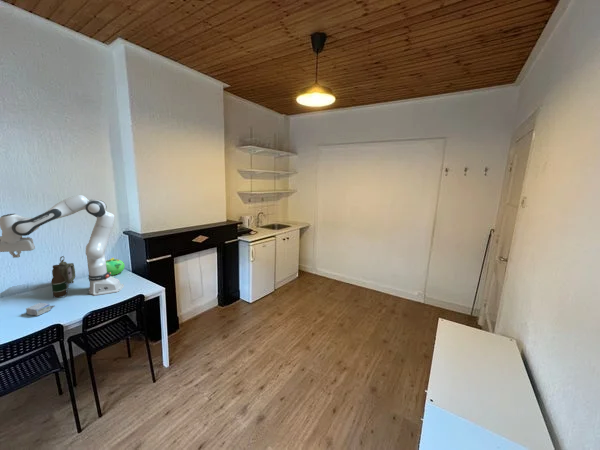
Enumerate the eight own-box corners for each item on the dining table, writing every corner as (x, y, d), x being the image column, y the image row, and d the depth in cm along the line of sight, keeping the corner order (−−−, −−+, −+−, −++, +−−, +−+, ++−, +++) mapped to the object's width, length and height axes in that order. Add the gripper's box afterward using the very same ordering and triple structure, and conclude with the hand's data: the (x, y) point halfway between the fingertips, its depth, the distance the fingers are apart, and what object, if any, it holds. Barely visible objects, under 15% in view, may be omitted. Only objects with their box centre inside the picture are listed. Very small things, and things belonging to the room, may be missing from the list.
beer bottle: (55, 298, 186) (50, 268, 181) (52, 295, 190) (46, 265, 185) (69, 294, 192) (64, 264, 187) (65, 292, 196) (60, 262, 191)
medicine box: (26, 314, 165) (37, 316, 164) (25, 308, 164) (36, 310, 163) (41, 308, 173) (51, 310, 171) (40, 302, 172) (50, 304, 170)
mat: (55, 305, 177) (55, 305, 177) (47, 312, 168) (47, 312, 168) (40, 307, 174) (40, 306, 174) (31, 314, 166) (31, 313, 166)
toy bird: (126, 269, 243) (124, 255, 240) (124, 276, 228) (122, 260, 225) (102, 272, 234) (100, 257, 231) (99, 279, 219) (97, 263, 216)
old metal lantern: (69, 288, 201) (64, 258, 196) (54, 290, 198) (49, 260, 193) (76, 281, 214) (72, 253, 209) (62, 282, 211) (58, 254, 206)
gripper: (35, 236, 177) (38, 254, 180) (-4, 237, 171) (1, 256, 174) (29, 238, 171) (32, 257, 174) (-11, 239, 165) (-7, 259, 168)
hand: (16, 257), depth 174 cm, fingers closed
